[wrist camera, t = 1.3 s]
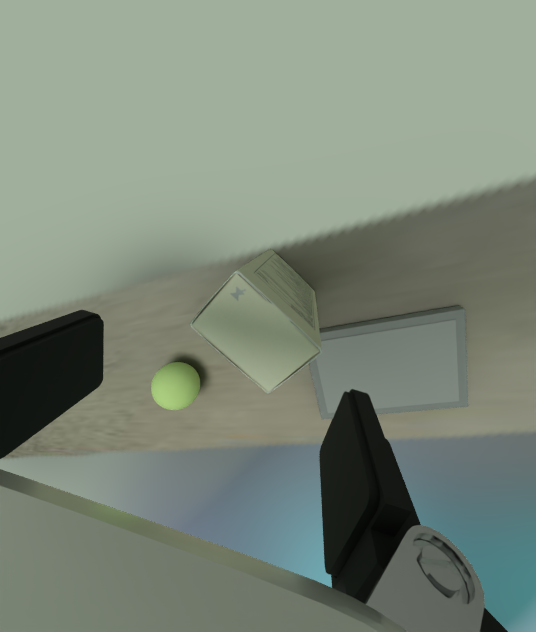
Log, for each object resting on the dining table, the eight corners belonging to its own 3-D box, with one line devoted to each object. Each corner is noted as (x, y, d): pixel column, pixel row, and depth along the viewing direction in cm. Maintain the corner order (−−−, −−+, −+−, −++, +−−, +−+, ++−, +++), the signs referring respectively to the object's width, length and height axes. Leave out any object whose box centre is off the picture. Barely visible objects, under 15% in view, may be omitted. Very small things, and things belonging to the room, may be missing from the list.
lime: (210, 361, 29) (190, 387, 24) (204, 396, 30) (184, 426, 26) (169, 349, 29) (142, 371, 24) (165, 384, 31) (139, 411, 26)
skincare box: (241, 279, 25) (181, 321, 14) (271, 246, 23) (231, 263, 12) (287, 323, 26) (267, 399, 14) (319, 294, 24) (325, 353, 13)
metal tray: (458, 305, 22) (465, 309, 21) (462, 399, 25) (468, 407, 24) (303, 332, 26) (302, 336, 25) (321, 413, 28) (321, 419, 27)
